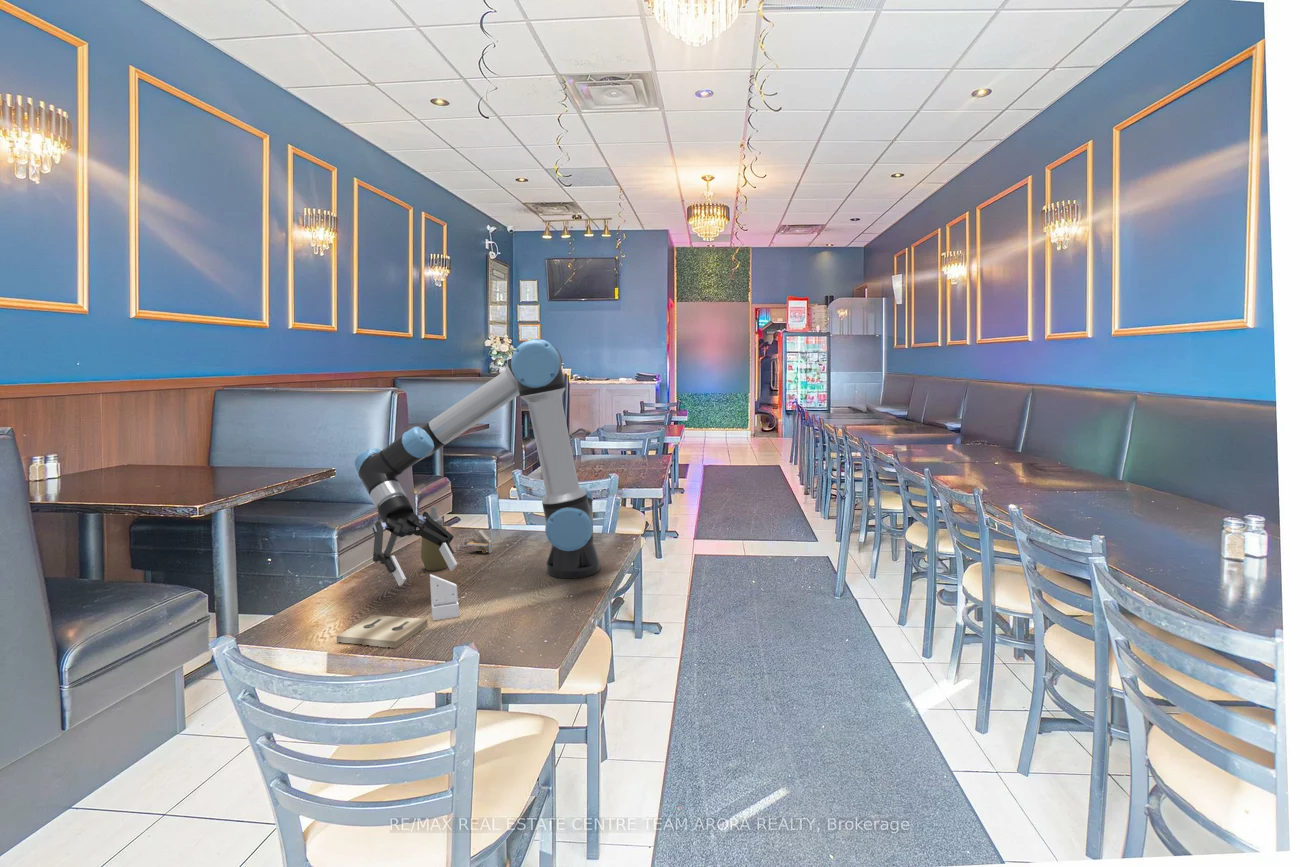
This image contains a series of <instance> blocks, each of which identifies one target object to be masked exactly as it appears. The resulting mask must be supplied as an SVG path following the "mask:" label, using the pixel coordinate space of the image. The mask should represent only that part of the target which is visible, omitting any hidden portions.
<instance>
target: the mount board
mask: <svg viewBox="0 0 1300 867" xmlns="http://www.w3.org/2000/svg"><path fill="white" fill-rule="evenodd" d="M427 625H428V618H427V619H426V618H419V617H417V618H415V617H405V616H404V617H403V616H389V615H378V614H377V615H375V614H371V615H370V616H368V617H366V618H364V619H362V621H360V622H358V623H356V624H354V625H353V626H351V627H349V628H347V629H346V630H344V631H342V632H341V633H339V634H338V635H336V643H337V642H343V643H355V644H362V645H361V646H366V645H369V646H368V647H377V646H378V648H379V647H380V648H388V647H390V648H389V649H397V648H398V647H400V646H401V645H403V644H404V643H405V642H407V641H408V640H410V639H411V638H413V637H414V636H416V635H417V634H418V633H420V632H421V631H422V630H424V629H425V628H427V627H428V626H429V625H428V626H427ZM426 626H427V627H426ZM424 627H425V628H424ZM423 628H424V629H423ZM420 630H421V631H420ZM419 631H420V632H419ZM416 633H417V634H416ZM413 635H414V636H413ZM412 636H413V637H412ZM409 638H410V639H409ZM343 643H342V644H343Z"/></svg>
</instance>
